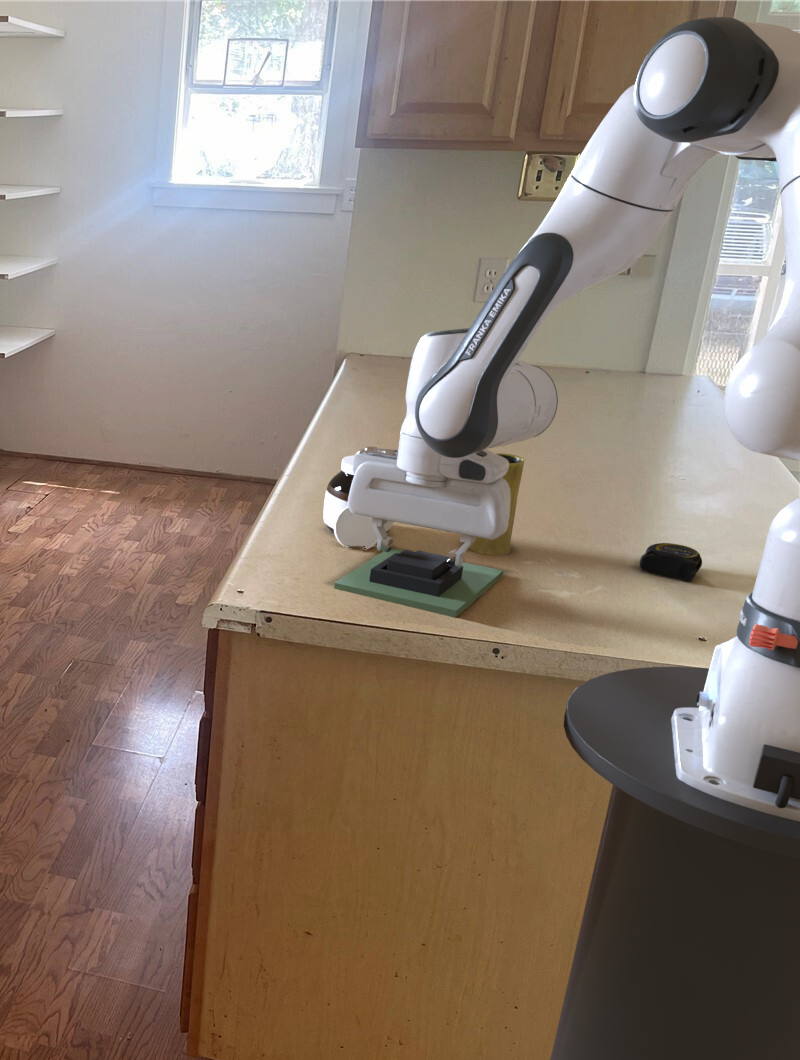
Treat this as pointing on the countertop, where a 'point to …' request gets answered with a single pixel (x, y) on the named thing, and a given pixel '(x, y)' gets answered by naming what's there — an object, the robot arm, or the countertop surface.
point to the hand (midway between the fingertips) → (418, 557)
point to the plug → (418, 564)
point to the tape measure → (671, 561)
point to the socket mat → (421, 585)
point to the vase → (513, 479)
